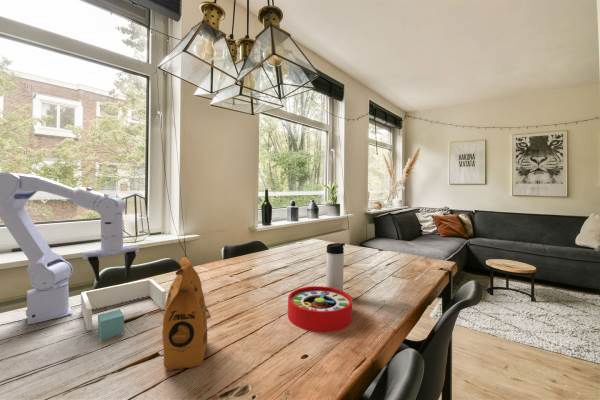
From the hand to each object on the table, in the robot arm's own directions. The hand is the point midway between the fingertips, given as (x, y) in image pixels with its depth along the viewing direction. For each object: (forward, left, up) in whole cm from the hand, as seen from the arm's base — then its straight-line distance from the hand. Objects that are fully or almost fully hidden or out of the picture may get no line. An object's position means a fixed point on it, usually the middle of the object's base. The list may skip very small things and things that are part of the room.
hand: (112, 277), depth 86 cm
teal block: (-3, -16, -10) cm, 19 cm away
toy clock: (+47, -47, -11) cm, 67 cm away
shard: (+17, -19, -11) cm, 28 cm away
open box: (+3, -2, -10) cm, 11 cm away
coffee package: (+8, -39, -11) cm, 41 cm away
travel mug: (+61, -41, -11) cm, 74 cm away
